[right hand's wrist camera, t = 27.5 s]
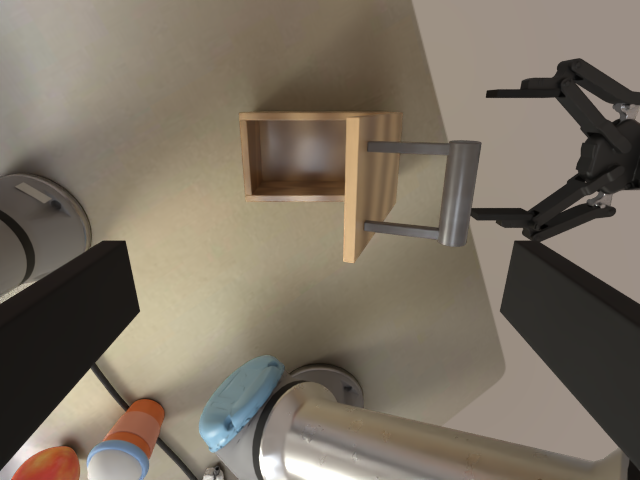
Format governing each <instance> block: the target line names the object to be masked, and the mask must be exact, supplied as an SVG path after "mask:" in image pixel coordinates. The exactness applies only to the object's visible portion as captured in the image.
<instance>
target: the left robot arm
mask: <svg viewBox="0 0 640 480" xmlns="http://www.w3.org/2000/svg"><path fill="white" fill-rule="evenodd" d="M576 84H578V85H580V86H581V87H583V88H584V89H586V90H588V91H589V92H591V93H592V94H594V95H596V96H597V97H599V98H600V99H602V100H604V101H605V102H608V103H611V104H614V105H613V109H615V110H616V111H617V112H619V113H620V119H617V120H615V121H614V122H611V121H609V120H607V119H605V118H604V116H603V115H602V114H601V113H600V112H599V111H598V109H597V108H596V107H595V106H594V105H593V103H592V102H591V101H590V100H589V99H588V98H587V96H586V95H585V94H584V93H583V92H582V91H581V89H580V88H579V87H578V86H577V85H576ZM550 97H555V98H556V99H557V100H558V101H559V102H560V103H561V105H562V106H563V107H564V108H565V109H566V110H567V111H568V112H569V114H570V115H571V116H572V117H573V118H574V119H575V120H576V122H577V123H578V124H579V125H580V126H581V128H580V129H581V130H582V132H583V133H584V134H585V135H586V136H587V137H588V139H587V140H586V142H585V143H582V147H581V157H580V159H579V161H578V163H577V166H576V170H578V174H576V175H575V176H574V177H572V178H571V179H569V180H568V181H567V184H566V185H564V186H563V187H562V188H560V189H559V190H557V191H556V192H554V193H553V194H552V195H550V196H549V197H547V198H546V199H544V200H543V201H542V202H540V203H539V204H537V205H536V206H534V207H533V208H532V209H530V210H529V211H525V210H523V209H521V208H471V214H470V216H472V217H473V218H475V219H476V220H496V223H497V224H499V225H500V226H502V227H505V228H523V231H522V234H523V235H524V236H525V237H527V238H528V239H530V240H532V241H539V242H541V241H543V240H546V239H548V238H550V237H553V236H555V235H557V234H560V233H562V232H564V231H567V230H569V229H572V228H574V227H576V226H579V225H581V224H583V223H586V222H588V221H591V220H593V219H595V218H603V217H611V216H613V215H614V214H615V213H616V209H615V208H614V207H611V200H612V195H613V194H614V193H616V192H618V191H621V190H640V123H639V122H637V121H636V120H635V118H636V115H637V113H638V110H639V108H640V92H633V91H631V90H629V89H628V88H626V87H624V86H623V85H621V84H620V83H618V82H617V81H615V80H614V79H612V78H610V77H609V76H607V75H606V74H604V73H603V72H601V71H599V70H598V69H596V68H595V67H593V66H592V65H590V64H589V63H587V62H585V61H584V60H582V59H580V58H578V59H572V60H567V61H562V62H560V63H559V64H558V66H557V73H556V74H555V76H554V77H552V78H529V79H525V80H523V81H522V83H521V88H520V89H514V90H512V89H511V90H510V89H506V90H504V89H503V90H501V89H500V90H499V89H498V90H488V91H487V93H486V98H550ZM585 181H586V182H587V183H586V182H585ZM596 191H598V192H599V193H598V195H597V197H595V198H593V199H588V200H587V203H585V204H581V205H578V206H575V207H573V208H570V209H568V210H566V211H563V210H565V209H566V208H568V207H569V206H571V205H572V204H574V203H575V202H577V201H578V200H580V199H581V198H582V197H584V196H586V195H591V194H593V193H594V192H596ZM562 211H563V212H562ZM363 405H364V401H363V394H362V390H361V387H360V385H359V383H358V382H357V380H356V379H355V378H354V377H353V376H352V375H351V374H350V373H348V372H347V371H345V370H343V369H341V368H339V367H336V366H332V365H327V364H313V365H307V366H304V367H301V368H298V369H296V370H294V371H293V372H291V373H290V374H288V373H287V371H286V370H285V366H284V365H283V363H280V362H279V361H278V360H277V359H276V358H275V357H274V356H271V355H264V356H259V357H256V358H254V359H252V360H250V361H248V362H247V363H245V364H244V365H242V366H241V367H239V368H238V369H237V370H235V371H234V372H233V373H232V374H231V375H230V376H229V377H228V378H227V379H226V380H225V381H224V382H223V383H222V384H221V385H220V386H219V387H218V388H217V390H216V391H215V392H214V393H213V395H212V396H211V398H210V399H209V401H208V402H207V404H206V406H205V408H204V410H203V413H202V415H201V418H200V422H199V431H200V435H201V437H202V438H203V439H204V441H205V442H206V443H207V445H208V446H209V450H210V451H211V452H214V453H215V454H216V455H217V456H218V457H219V459H220V460H221V461H222V462H223V463H224V464H225V465H226V466H227V467H228V468H229V469H230V470H231V471H232V473H233V474H234V475H235V476H236V477H237V478H238V479H239V480H640V471H639V469H638V468H637V467H636V466H635V465H634V464H633V463H632V461H631V460H630V459H629V458H628V457H627V456H626V455H625V453H624V452H623V451H622V450H621V449H620V448H617V449H616V450H615V451H613V452H612V453H611V454H609V455H608V456H607V457H605V458H604V459H601V460H598V461H589V460H585V459H581V458H576V457H572V456H568V455H563V454H559V453H555V452H550V451H546V450H542V449H537V448H533V447H528V446H524V445H520V444H515V443H511V442H507V441H502V440H498V439H494V438H489V437H485V436H480V435H476V434H472V433H468V432H463V431H459V430H454V429H450V428H446V427H441V426H437V425H433V424H428V423H424V422H420V421H415V420H411V419H407V418H402V417H398V416H394V415H389V414H385V413H381V412H376V411H372V410H368V409H363Z"/></svg>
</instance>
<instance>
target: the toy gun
mask: <svg viewBox="0 0 640 480" xmlns="http://www.w3.org/2000/svg"><path fill="white" fill-rule="evenodd" d="M203 480H224V476H223V472H222V471H221V470H220V467H219V466H216V467H215V468H213V467H210V468H207V469H206V471H205V474H204V477H203Z"/></svg>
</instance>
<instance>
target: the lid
mask: <svg viewBox="0 0 640 480" xmlns="http://www.w3.org/2000/svg"><path fill="white" fill-rule="evenodd" d="M402 117H403V113H402V112H395V113H385V114H374V115H364V116H353V117H347V122H346V164H345V206H344V248H343V261H344V262H350V263H355V261H356V260H357V258H358V257H359V255H360V254H361V253H362V251H363V250H364V248H365V247H366V245H367V244H368V242H369V241H370V240H371V238H372V237H373V235H374V234H375V232H377V233H386V234H394V235H403V236H411V237H420V238H428V239H437V241H438V242H439V243H440V244H443V245H446V246H452V247H460V246H464V245H465V244H466V240H467V234H468V227H469V221H470V214H471V208H472V201H473V195H474V188H475V182H476V175H477V169H478V163H479V156H480V150H481V142H478V141H461V140H460V141H450V142H449V143H423V142H401V130H402ZM400 153H404V154H428V155H447V163H446V171H445V179H444V187H443V196H442V204H441V212H440V220H439V228H436V227H427V226H417V225H408V224H399V223H389V222H383V221H384V219H385V218H386V216H387V215H388V214H389V212H390V211H391V209H392V208H393V206H394V205H395V204H396V196H397V183H398V169H399V156H400Z"/></svg>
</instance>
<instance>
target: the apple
mask: <svg viewBox="0 0 640 480" xmlns="http://www.w3.org/2000/svg"><path fill="white" fill-rule="evenodd" d="M79 477H80V465H79V460H78V457H77V455H76V453H75V451H74V450H73V449H72V448H70V447H66V446H59V447H52V448H48V449H45V450H43V451H41V452H38V453H37V454H35V455H33V456H32V457H30V458H29V459H28V460H26V461H25V462H24V463H23V464H22V465H21V466H20V468H19V469H18V470H17V471H16V473H15V474H14V476H13V477H12V479H11V480H79Z"/></svg>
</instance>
